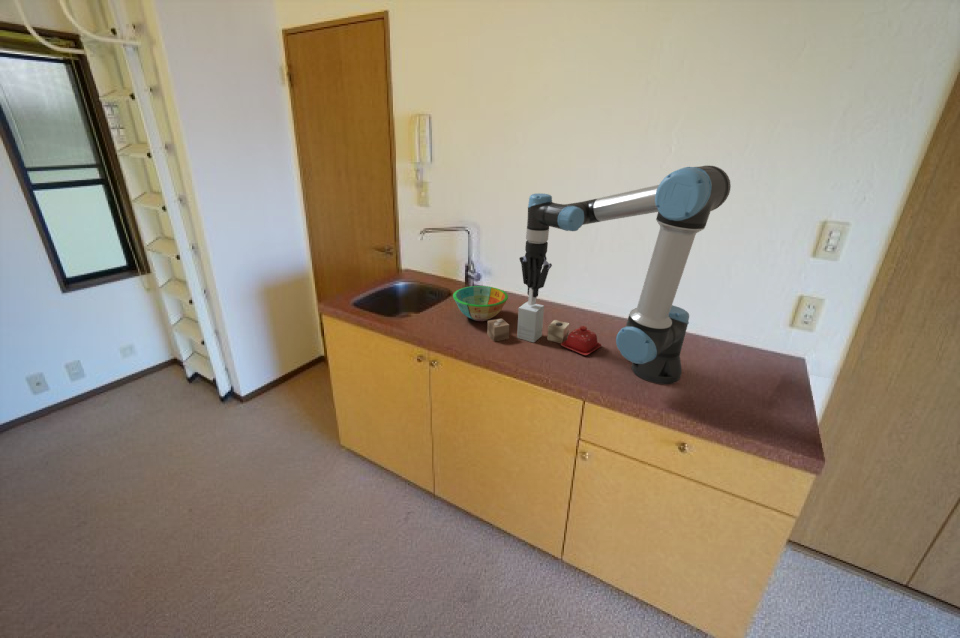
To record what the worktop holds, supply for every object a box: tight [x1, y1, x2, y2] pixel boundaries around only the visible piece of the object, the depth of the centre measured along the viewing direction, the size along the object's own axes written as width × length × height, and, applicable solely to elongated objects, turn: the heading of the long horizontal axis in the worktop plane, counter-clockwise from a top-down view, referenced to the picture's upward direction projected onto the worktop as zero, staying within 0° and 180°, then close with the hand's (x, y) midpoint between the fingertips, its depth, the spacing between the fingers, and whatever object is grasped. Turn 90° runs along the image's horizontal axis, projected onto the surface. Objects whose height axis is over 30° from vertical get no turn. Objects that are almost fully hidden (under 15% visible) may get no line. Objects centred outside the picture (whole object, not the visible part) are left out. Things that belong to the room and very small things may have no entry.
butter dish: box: [560, 325, 602, 356], centre depth 151 cm, size 12×12×8 cm
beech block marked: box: [546, 319, 570, 344], centre depth 157 cm, size 6×6×6 cm
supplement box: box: [516, 301, 545, 344], centre depth 156 cm, size 7×7×13 cm
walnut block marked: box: [486, 318, 510, 342], centre depth 157 cm, size 6×6×6 cm
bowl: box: [452, 285, 509, 322], centre depth 172 cm, size 22×22×10 cm
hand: (531, 304), depth 153 cm, fingers closed
